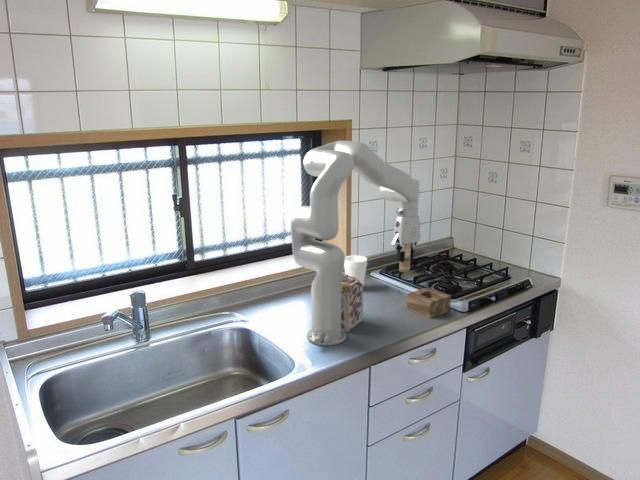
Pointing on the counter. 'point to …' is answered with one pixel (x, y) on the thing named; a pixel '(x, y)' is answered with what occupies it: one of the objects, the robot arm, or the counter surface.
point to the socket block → (428, 302)
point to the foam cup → (356, 267)
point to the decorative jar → (351, 302)
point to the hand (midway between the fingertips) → (405, 259)
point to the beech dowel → (406, 259)
